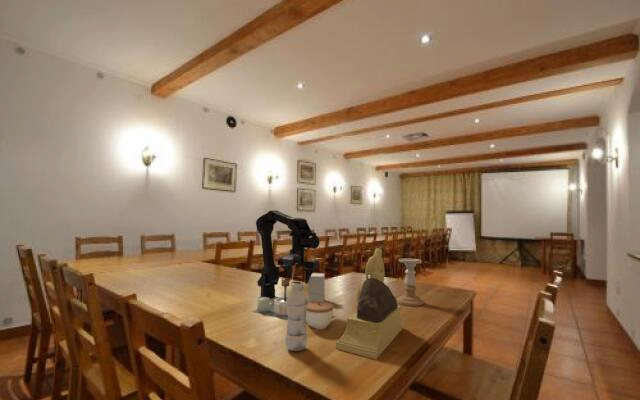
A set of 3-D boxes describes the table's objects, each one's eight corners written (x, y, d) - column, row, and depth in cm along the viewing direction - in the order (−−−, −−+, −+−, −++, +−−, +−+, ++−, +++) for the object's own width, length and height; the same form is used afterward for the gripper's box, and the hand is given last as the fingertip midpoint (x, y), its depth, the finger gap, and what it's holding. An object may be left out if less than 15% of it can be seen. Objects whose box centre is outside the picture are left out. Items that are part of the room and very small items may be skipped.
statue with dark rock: (369, 321, 117) (369, 243, 119) (402, 328, 111) (402, 245, 112) (335, 349, 93) (337, 250, 95) (375, 359, 87) (376, 253, 88)
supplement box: (324, 299, 147) (325, 273, 147) (323, 304, 139) (323, 276, 140) (309, 299, 147) (310, 272, 148) (307, 303, 140) (308, 275, 141)
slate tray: (251, 313, 125) (251, 311, 125) (275, 303, 139) (275, 302, 139) (295, 323, 114) (295, 321, 114) (316, 311, 128) (316, 310, 128)
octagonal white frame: (268, 314, 123) (268, 301, 123) (282, 307, 131) (283, 296, 131) (284, 317, 118) (285, 304, 119) (299, 311, 127) (299, 299, 127)
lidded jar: (311, 334, 104) (312, 306, 105) (299, 324, 114) (299, 298, 114) (338, 329, 109) (338, 302, 110) (324, 319, 119) (324, 295, 119)
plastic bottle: (285, 345, 95) (286, 280, 96) (306, 344, 96) (307, 280, 97) (284, 354, 89) (286, 285, 90) (307, 354, 89) (308, 285, 90)
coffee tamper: (275, 302, 124) (275, 279, 125) (283, 298, 129) (284, 276, 130) (286, 304, 122) (287, 280, 122) (294, 300, 127) (295, 278, 127)
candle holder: (427, 306, 138) (427, 261, 139) (400, 306, 138) (400, 261, 139) (419, 299, 150) (419, 258, 151) (394, 298, 150) (394, 257, 151)
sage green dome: (254, 311, 126) (255, 299, 126) (262, 308, 130) (263, 296, 130) (264, 313, 123) (264, 301, 123) (271, 310, 127) (272, 298, 128)
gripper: (270, 246, 132) (269, 283, 131) (306, 250, 123) (305, 289, 122) (285, 244, 142) (284, 278, 141) (320, 247, 132) (319, 284, 132)
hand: (297, 282), depth 134 cm, fingers open, 9 cm apart
